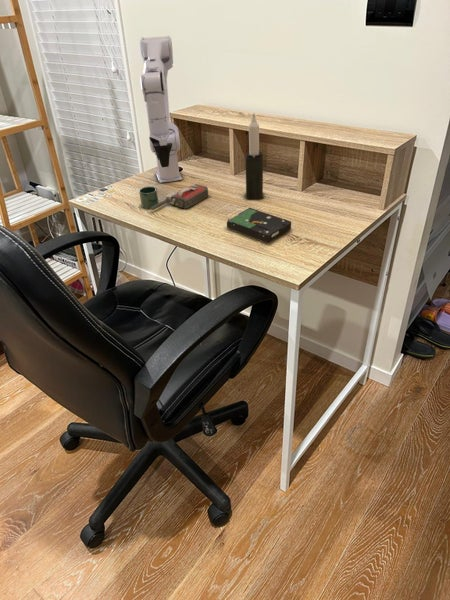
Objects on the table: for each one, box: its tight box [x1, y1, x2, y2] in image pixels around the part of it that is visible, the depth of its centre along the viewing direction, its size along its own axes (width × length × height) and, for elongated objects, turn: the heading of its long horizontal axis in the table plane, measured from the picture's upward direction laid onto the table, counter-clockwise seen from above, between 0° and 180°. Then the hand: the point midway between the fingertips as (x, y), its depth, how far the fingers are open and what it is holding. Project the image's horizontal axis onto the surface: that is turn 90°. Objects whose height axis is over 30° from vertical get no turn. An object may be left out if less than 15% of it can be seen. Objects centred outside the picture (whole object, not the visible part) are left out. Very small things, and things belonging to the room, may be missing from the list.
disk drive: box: [226, 207, 292, 244], centre depth 124 cm, size 10×3×15 cm
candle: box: [244, 112, 264, 200], centre depth 136 cm, size 5×5×25 cm
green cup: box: [138, 186, 160, 210], centre depth 140 cm, size 5×5×5 cm
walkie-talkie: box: [149, 183, 209, 211], centre depth 140 cm, size 9×4×20 cm
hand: (163, 163), depth 141 cm, fingers open, 7 cm apart
